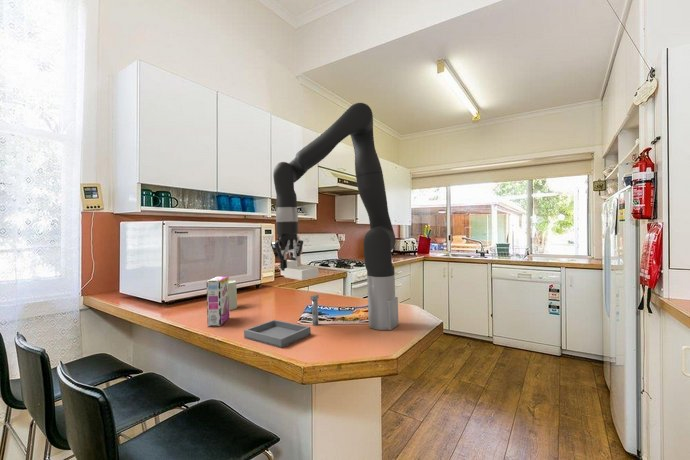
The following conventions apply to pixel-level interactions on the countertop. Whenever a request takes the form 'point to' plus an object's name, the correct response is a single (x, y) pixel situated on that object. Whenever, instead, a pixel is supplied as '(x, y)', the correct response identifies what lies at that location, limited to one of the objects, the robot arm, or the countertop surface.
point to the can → (232, 295)
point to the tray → (277, 333)
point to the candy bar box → (217, 301)
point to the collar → (299, 271)
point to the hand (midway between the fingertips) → (288, 269)
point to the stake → (315, 309)
